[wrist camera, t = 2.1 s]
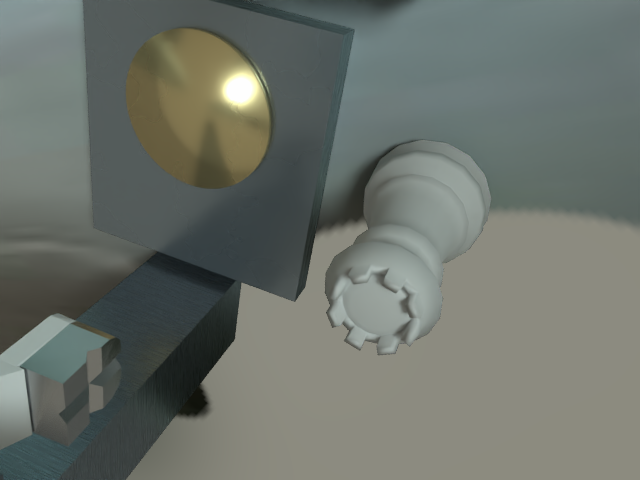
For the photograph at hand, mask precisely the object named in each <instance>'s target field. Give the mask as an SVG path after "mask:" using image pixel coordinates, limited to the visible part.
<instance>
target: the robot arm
mask: <svg viewBox="0 0 640 480" xmlns="http://www.w3.org/2000/svg"><path fill="white" fill-rule="evenodd" d="M120 352H121V340H120V339H118V338H116V337H114V336H112V335H110V334H107V333H105V332H102V331H100V330H98V329H95V328H93V327H91V326H88V325H86V324H84V323H81V322H79V321H76V320H73V319H71V318H68V317H66V316H64V315H61V314H59V313H57V314H54V315H50V316H49V317H48V318H46V319H45V320H44V321H42V322H41V323H40V324H39V325H37V326H36V327H35V328H34V329H32V330H31V331H30V332H29V333H27V334H26V335H25V336H23V337H22V338H21V339H20V340H18V341H17V342H16V343H15V344H13V345H12V346H11V347H9V348H8V349H7V350H6V351H4V352H3V353H2V354H1V355H0V450H1V449H3V448H5V447H7V446H9V445H12V444H14V443H16V442H18V441H20V440H22V439H24V438H26V437H28V436H31V435H32V434H33V433H36V434H38V435H41V436H43V437H46V438H48V439H51V440H53V441H56V442H58V443H61V444H63V445H66V446H69V445H70V444H71V443H72V442H73V441H74V440H75V439H76V438H77V437H78V436H79V434H80V433H81V432H82V431H83V430H84V429H85V428H86V427H87V426H88V425H89V424H90V413H92V412H94V411H97V410H100V409H103V408H104V407H105V406H106V405H107V403H108V402H109V401H110V400H111V399H112V397H113V396H114V394H115V392H116V390H117V388H118V386H119V383H120V379H121V365H120V364H119V362H118V361H117V359H116V357H117V355H118V354H119V353H120ZM32 432H33V433H32Z"/></svg>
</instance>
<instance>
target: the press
mask: <svg viewBox="0 0 640 480" xmlns="http://www.w3.org/2000/svg"><path fill="white" fill-rule="evenodd" d="M83 6H84V27H85V49H86V70H87V92H88V113H89V135H90V156H91V177H92V199H93V220H94V228H96V229H99V230H101V231H104V232H107V233H109V234H112V235H115V236H118V237H120V238H123V239H126V240H128V241H131V242H134V243H137V244H139V245H142V246H145V247H147V248H150V249H153V250H156V251H158V252H157V253H156V254H155V255H154V256H152V257H151V258H150V259H149V260H147V261H146V262H145V263H144V264H143V265H141V266H140V267H139V268H138V269H137V270H135V271H134V272H133V273H132V274H130V275H129V276H128V277H127V278H126V279H124V280H123V281H122V282H121V283H120V284H118V285H117V286H116V287H115V288H114V289H112V290H111V291H110V292H109V293H107V294H106V295H105V296H104V297H103V298H101V299H100V300H99V301H98V302H97V303H95V304H94V305H93V306H92V307H90V308H89V309H88V310H87V311H86V312H84V313H83V314H82V315H81V316H80V317H78V318H77V319H76V321H79V322H81V323H84V324H86V325H88V326H91V327H93V328H95V329H98V330H100V331H102V332H105V333H107V334H110V335H112V336H114V337H116V338H118V339H120V340H121V352H120V353H119V354H118V355H117V357H116V359H117V361H118V362H119V364H120V365H121V379H120V383H119V386H118V388H117V390H116V392H115V394H114V396H113V397H112V399H111V400H110V401H109V402H108V403H107V405H106V406H105V407H104V408H103V409H100V410H97V411H94V412H92V413H90V424H89V425H88V426H87V427H86V428H85V429H84V430H83V431H82V432H81V433H80V434H79V436H78V437H77V438H76V439H75V440H74V441H73V442H72V443H71V444H70V445H69V446H66V445H63V444H61V443H58V442H56V441H53V440H51V439H48V438H46V437H43V436H41V435H38V434H36V433H33V432H32V433H33V434H32V435H31V436H28V437H26V438H24V439H22V440H20V441H18V442H16V443H14V444H12V445H9V446H7V447H5V448H3V449H1V450H0V480H126V478H127V477H128V476H129V475H130V473H131V472H132V471H133V470H134V468H135V467H136V466H137V464H138V463H139V462H140V461H141V459H142V458H143V457H144V455H145V454H146V453H147V451H148V450H149V449H150V448H151V446H152V445H153V444H154V442H155V441H156V440H157V439H158V437H159V436H160V435H161V434H162V432H163V431H164V430H165V428H166V427H167V426H168V425H169V423H170V422H171V421H172V419H173V418H174V417H175V416H176V414H177V413H178V412H179V410H180V409H181V408H182V407H183V405H184V404H185V403H186V401H187V400H188V399H189V398H190V396H191V395H192V394H193V392H194V391H195V390H196V389H197V387H198V386H199V385H200V383H201V382H202V381H203V380H204V378H205V377H206V376H207V374H208V373H209V371H210V370H211V369H212V368H213V367H214V365H215V364H216V363H217V361H218V360H219V359H220V358H221V356H222V355H223V353H224V352H225V351H226V350H227V348H228V347H229V346H230V345H231V343H232V342H233V341H234V339H235V332H236V324H237V315H238V307H239V298H240V289H241V282H242V283H245V284H248V285H250V286H253V287H256V288H259V289H262V290H264V291H267V292H269V293H273V294H275V295H278V296H280V297H283V298H286V299H288V300H291V301H294V302H295V301H296V299H297V298H298V296H299V295H300V294H301V292H302V291H303V289H304V288H305V285H306V280H307V274H308V269H309V264H310V259H311V254H312V248H313V243H314V238H315V233H316V228H317V222H318V217H319V212H320V207H321V201H322V196H323V191H324V186H325V181H326V175H327V170H328V165H329V160H330V155H331V149H332V144H333V139H334V134H335V128H336V123H337V118H338V113H339V108H340V102H341V97H342V92H343V87H344V81H345V76H346V71H347V66H348V61H349V55H350V50H351V45H352V40H353V35H354V29H351V28H347V27H344V26H340V25H336V24H332V23H328V22H324V21H320V20H316V19H312V18H308V17H304V16H301V15H297V14H293V13H289V12H285V11H281V10H277V9H273V8H269V7H265V6H261V5H258V4H254V3H250V2H246V1H242V0H83Z"/></svg>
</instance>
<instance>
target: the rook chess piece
mask: <svg viewBox="0 0 640 480" xmlns="http://www.w3.org/2000/svg"><path fill="white" fill-rule="evenodd" d="M490 203H491V195H490V191H489V188H488V184H487V180H486V176H485V174H484V173H483V172H482V171H481V169H480V168H479V167H478V166H477V164H476V163H475V162H474V161H473V159H472V158H471V157H470V156H469V155H467V154H466V153H464V152H462V151H460V150H459V149H457V148H455V147H453V146H451V145H450V144H448V143H442V142H435V141H428V140H419V141H415V142H411V143H407V144H403V145H399V146H397V147H396V148H395V149H393V150H392V151H391V152H389V153H388V154H387V155H385V156H384V157H383V158H381V159H380V161H379V162H378V164H377V166H376V168H375V170H374V172H373V174H372V175H371V177H370V180H369V182H368V184H367V185H366V187H365V195H364V210H363V214H364V217H365V220H366V223H367V226H368V230H366V231H365V232H363V233H362V234H361V235H359V236H358V237H357V238H356V240H355V242H354V244H353V245H351V246H350V247H348V248H347V249H345V250H344V251H342V252H341V253H339V254H338V255H336V256H335V257H334V259H333V261H332V263H331V264H330V266H329V268H328V270H327V272H326V280H325V294H326V296H327V299H328V301H329V304H330V307H329V309H328V310H327V312H326V313H327V315H328V318H329V321H330V323H331V325H332V328H333V327H336V326H340V325H341V324H343V325H344V326H345V327H346V328H347V329H348V330H349V333H348V335H347V337H346V339H345V340H344V341H345V342H346V343H348V344H350V345H351V346H353V347H355V348H356V349H359V350H361V347H362V345H363V343H364V341H369V342H373V343H377V353H378V355H386V354H395V353H396V351H397V348H398V345H399V344H404V343H406V344H407V345H408V346H410V345H411V344H412V343H413V341H415V340H417V339H419V338H421V337H423V336H425V335H427V334H428V333H429V332H430V330H431V329H432V328H433V327H434V325H435V324H436V323H437V321H438V320H439V319H440V314H441V308H442V301H443V297H442V294H441V291H440V287H441V284H442V277H443V270H444V269H443V266H442V263H447V262H449V261H451V260H452V259H454V258H456V257H458V256H459V255H461V254H463V253H465V252H466V251H467V250H468V249H470V247H471V246H472V245H473V243H474V242H475V240H476V239H477V238H478V236H479V235H480V234H481V232H482V230H483V226H484V224H485V223H486V221H487V219H488V213H489V208H490Z"/></svg>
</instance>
